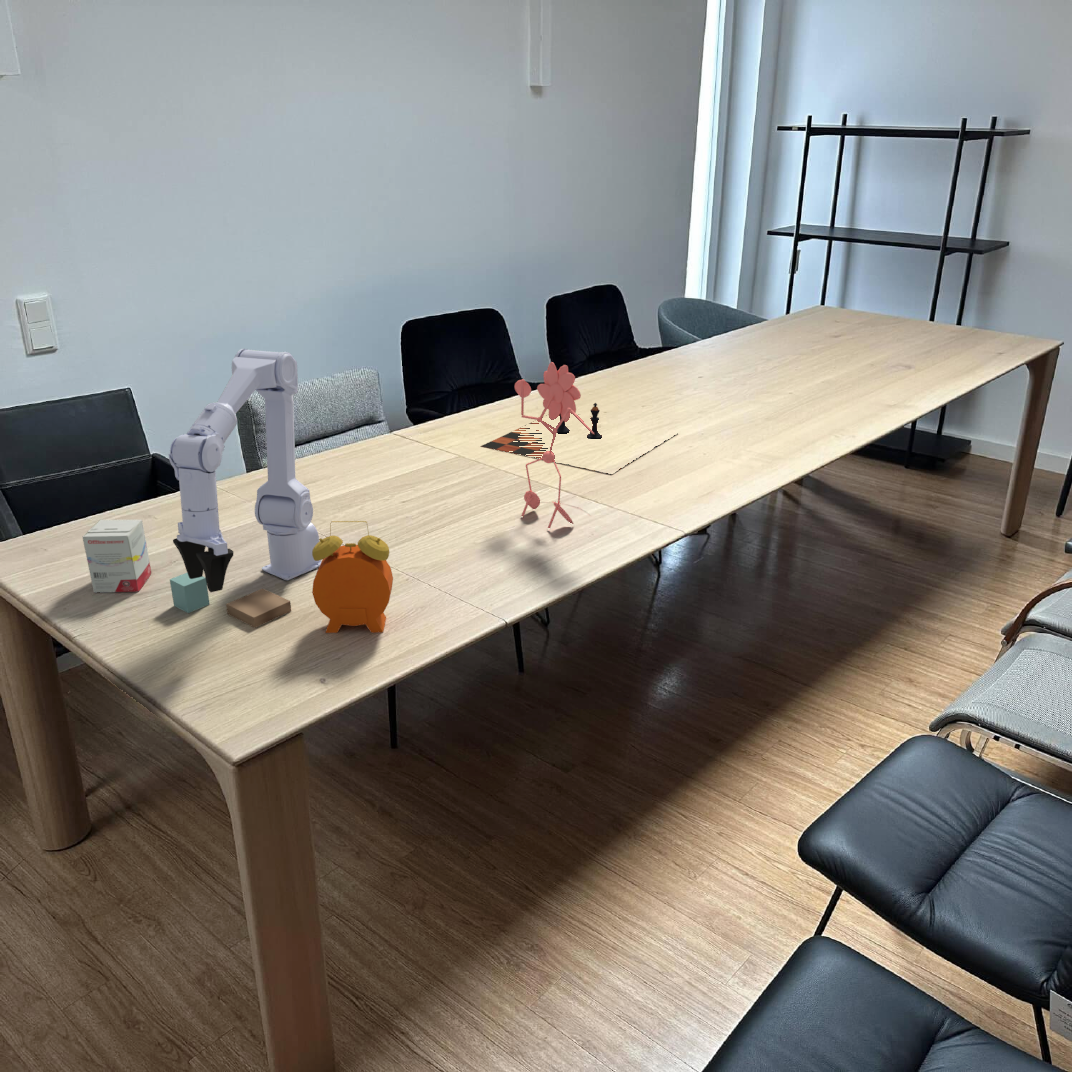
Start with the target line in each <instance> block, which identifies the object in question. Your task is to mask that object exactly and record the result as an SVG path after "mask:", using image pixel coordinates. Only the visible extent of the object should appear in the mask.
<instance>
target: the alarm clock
mask: <svg viewBox="0 0 1072 1072" xmlns="http://www.w3.org/2000/svg"><path fill="white" fill-rule="evenodd" d="M329 523H330V524H329V526H330V527H329V529H330V531H329V535H330V536H327V537H324V538H322V537H319V542H318V543H317V544H316V545H315V547H314V548H313V550H312V556H313V558H314V560H315V561H319V560H321V564H320V566H319V567H318V569H317V571H316V573H315V575H314V579H313V581H312V582H313V583H312V596H313V600H314V603H315V605H316V606H317V608H318V609H319V611H320V613H322V614H323V615H324V616H325V617H326V618H328V619H329V621H328V624H327V628H326V630H325V634H334V633H335V634H336V633H337V634H338V632H339V630H340V629H341V627H342V625H343V626H350V627H351V626H353V627H355V626H356V627H357V626H364V625H365V626H366V628H367V629H368V630H369V631H370V633H372V634H373V633H384V630H385V626H386V621H387V616H386V614H385V613H384V612H385V610H386V608H387V607H388V605H389V604H390V603H389V602H390V598H391V594H392V589H393V581H394V577H393V572H392V567H391V566H390V564H389V562H388V561H387V560H388V559H389V557H390V548H389V545H388V544H387V543H386V541H385V540H383V539H382V538H381V537H377V536H375V535H371V534H370V532H369V531H367V533H368V534H367V535H364V536H362V537H361V538H360V539H359V540H358V541H357V543H356V542H355V543H354V542H353V543H349V542H348V543H345V544H344V545H342V544H343V543H344V540H342V538H340V537H339V536H338V535H331V533H332V528H331V526H332V525H331V524H332V523H366V526H367V528H366V529H367V530H369V525H368V522H367V521H366V520H359V521H358V520H354V521H351V520H344V521H343V520H342V521H340V520H337V521H335V520H334V521H331V522H329Z"/></svg>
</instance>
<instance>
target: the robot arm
mask: <svg viewBox="0 0 1072 1072" xmlns="http://www.w3.org/2000/svg"><path fill="white" fill-rule="evenodd" d="M231 374H232V375H231V377H230V378H229V380H228V382H227V384H226V386H225V387H224V389H223V391H222V393H221V394H220V396H219V397H218V400H217V402H210V403H208V404H206V406H205V407H204V408H203V410H202V411H201V413H199V414H198V417H197V418H196V419H195V421H194V423H193V424H192V425H191V427H190V428H189V430H188V431H187V433H183V434H180V435H178V436H177V437H175V438H174V439H173V440H172V442H171V444H170V447H169V448H170V450H169V454H168V459H169V463H170V464H171V467H172V468H173V469H174V476H175V478H176V480H177V481H179V482H178V484H179V496H180V505H181V506H180V507H181V508H180V509H181V518H182V519H181V520H182V521H179V522H177V530H178V534H177V535H176V538H173V539H172V543H173V544H174V546H175V548H176V549H177V551H178V553H179V554H180V556H181V558H182V561H183V564H184V566H185V570H186V573H188V576H189V578H190V579H194V578H199V577H202V576H203V575H204V577H205V578H206V583H207V589H208V592H209V593H214V592H219V591H223V587H224V585H225V584H224V583H225V578H226V574H227V570H228V567H229V564H230V562H231V560H232V558H233V557H234V550H233V549H231V548H229V547H228V542H227V541H226V540H225V538H224V535H223V533H222V531H221V529H220V518H219V516H220V515H219V514H220V513H219V503H218V489H217V488H218V487H217V476H216V474H217V472H216V470H217V469H218V468H219V467H220V466H221V463H222V460H223V452H224V451H225V443H226V441H227V440H228V438H229V437H230V435H231V434H232V433H233V431H234V430H235V428H236V427H237V425H238V418H237V417H238V416H236V414H237V412H239V411H240V409H241V408H242V407H243V406H244V404H246V402H247V401H248V400H249V399H250V397H251V396H252V395H253V393H255V391H256V392H257V393H258V394H259V395H260V396H261V398H263V399H264V412H265V437H266V439H265V441H266V461H267V463H266V465H267V466H266V467H267V481H265V482H264V483H262V484H261V485H260V486H259V487H258V488H257V490H256V500H255V505H254V517H255V518H256V522H257V523H258V524H260V525H262V530H263V531H265V532H266V534H267V536H266V537H267V543H268V552H269V553H268V554H269V561H270V562H269V564H266V565H264V566H262V567H261V570H262V571H263V572H266V573H268V574H270V575H273V576H274V577H277V578H280V579H282V580H283V581H290V580H292V579H294V578H297V577H299V576H301V575H303V574H306V573H308V572H311V571H313V570H315V569H317V568H319V566H320V564H321V562H322V560H319V561H315V560H314V558H313V556H312V550H313V548H314V547H315V545H316V544H317V543H318V542H319V541H320V540H319V539H320V537H319V536H320V535H319V532H318V529H317V528H316V526H315V525H314V523H312V520H313V516H314V507H313V503H312V501H311V494H310V489H309V488H307V486H305V485H304V484H303V483H302V482H301V481H299V480H298V479H297V478H296V453H295V452H296V450H295V448H296V446H295V417H294V416H295V415H294V413H295V411H294V410H295V408H294V395H297V394H298V393H299V392H298V389H299V388H298V387H299V384H298V383H299V380H298V362H297V360H296V359H295V358H294V356H293V355H292V353H290V352H288V351H269V350H256V349H255V350H254V349H248V348H240V349H239V350H237V352H236V354H235V355H234V357H233V358H232V360H231ZM206 548H207V550H206Z"/></svg>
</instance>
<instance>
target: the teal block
mask: <svg viewBox="0 0 1072 1072" xmlns="http://www.w3.org/2000/svg"><path fill="white" fill-rule="evenodd" d="M169 583H170V589H171V596H172V602H173V606H174V607H176V608H178V609H179V610H181V611H183V612H185V613H187V614H190V613H192V612H194V611H197V610H200V609H202V608H204V607H206V606H209V605H210V598H209V590H208V587H207V583H206V578H205V576H203V575H202V577H199V578H194V579H190V578H189V576H188V573H187V572H185V573H182V574H180V575H177V576H175V577H172V578H170V579H169Z"/></svg>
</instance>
